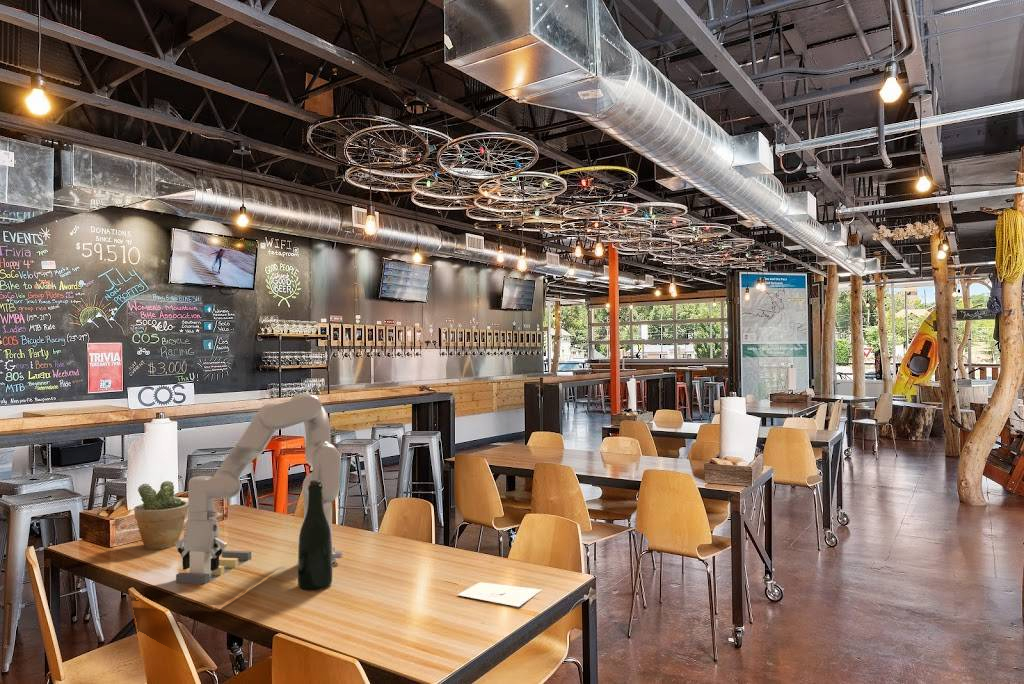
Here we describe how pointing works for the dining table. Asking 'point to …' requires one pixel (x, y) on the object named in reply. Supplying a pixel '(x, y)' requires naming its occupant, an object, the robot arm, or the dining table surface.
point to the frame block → (200, 562)
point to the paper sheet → (500, 593)
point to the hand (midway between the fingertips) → (200, 569)
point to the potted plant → (160, 516)
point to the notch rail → (205, 576)
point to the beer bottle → (315, 544)
